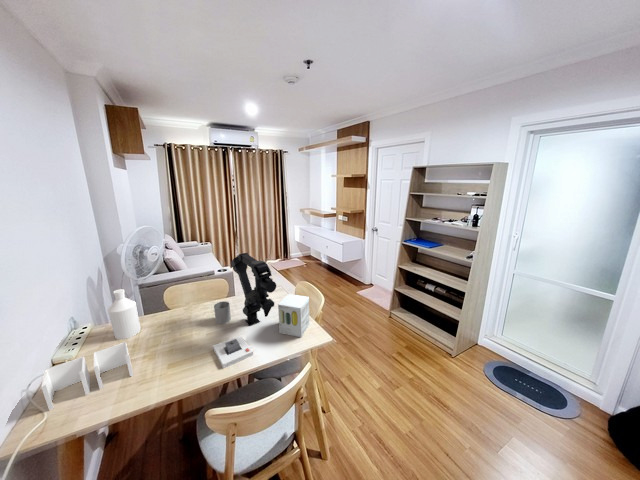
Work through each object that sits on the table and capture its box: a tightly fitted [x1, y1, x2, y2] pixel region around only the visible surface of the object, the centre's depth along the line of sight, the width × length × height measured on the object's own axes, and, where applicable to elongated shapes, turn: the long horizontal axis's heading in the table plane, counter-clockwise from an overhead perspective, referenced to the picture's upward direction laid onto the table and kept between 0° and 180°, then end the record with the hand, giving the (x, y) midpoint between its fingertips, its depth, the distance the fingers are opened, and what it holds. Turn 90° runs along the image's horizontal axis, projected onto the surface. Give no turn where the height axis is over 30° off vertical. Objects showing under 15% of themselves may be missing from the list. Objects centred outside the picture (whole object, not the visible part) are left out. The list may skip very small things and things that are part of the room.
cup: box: [213, 301, 232, 325], centre depth 147 cm, size 8×8×10 cm
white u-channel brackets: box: [41, 341, 134, 410], centre depth 102 cm, size 25×11×11 cm, turn 131°
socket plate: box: [212, 334, 254, 369], centre depth 121 cm, size 16×14×2 cm
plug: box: [225, 339, 240, 355], centre depth 121 cm, size 4×5×6 cm
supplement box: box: [277, 293, 311, 338], centre depth 138 cm, size 13×13×18 cm
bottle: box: [107, 288, 142, 340], centre depth 133 cm, size 12×12×25 cm
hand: (262, 312), depth 134 cm, fingers open, 9 cm apart
